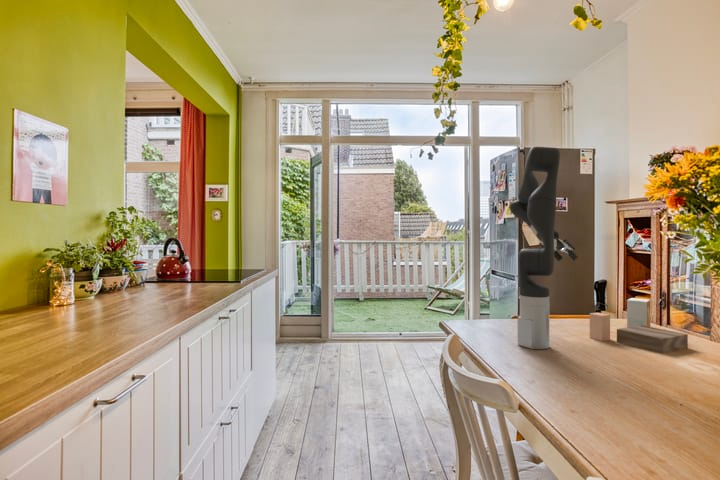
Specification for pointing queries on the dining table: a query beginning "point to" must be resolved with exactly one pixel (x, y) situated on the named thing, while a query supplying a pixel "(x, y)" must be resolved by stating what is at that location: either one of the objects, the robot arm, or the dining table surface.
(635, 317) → the small box
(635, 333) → the walnut block
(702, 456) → the dining table surface
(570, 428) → the dining table surface
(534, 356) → the dining table surface
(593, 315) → the terracotta block
